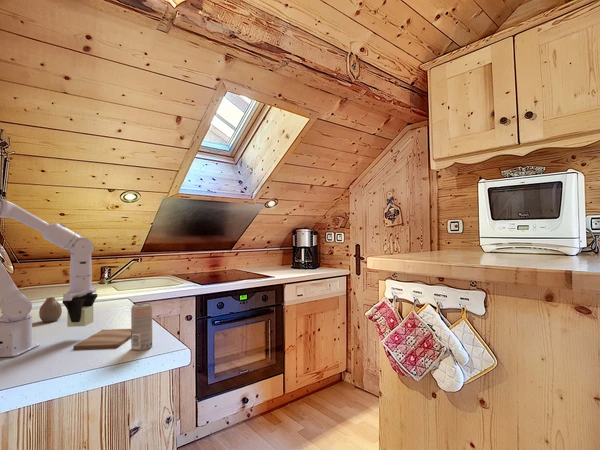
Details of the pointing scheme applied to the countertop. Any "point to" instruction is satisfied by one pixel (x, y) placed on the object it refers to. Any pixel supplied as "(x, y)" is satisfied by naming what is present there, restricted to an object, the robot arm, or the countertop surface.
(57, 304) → the vase
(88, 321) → the sage block
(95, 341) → the walnut board
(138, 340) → the energy drink
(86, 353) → the countertop surface
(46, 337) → the countertop surface
